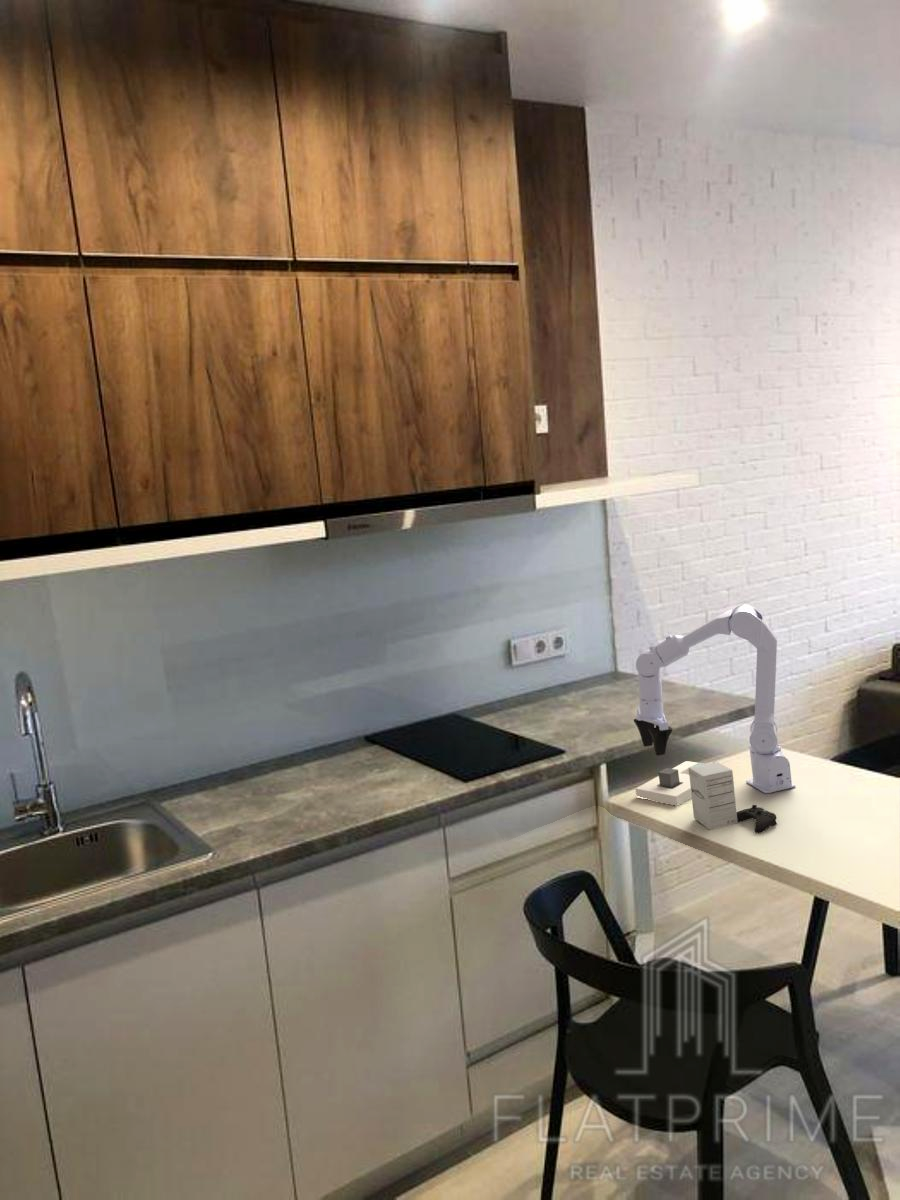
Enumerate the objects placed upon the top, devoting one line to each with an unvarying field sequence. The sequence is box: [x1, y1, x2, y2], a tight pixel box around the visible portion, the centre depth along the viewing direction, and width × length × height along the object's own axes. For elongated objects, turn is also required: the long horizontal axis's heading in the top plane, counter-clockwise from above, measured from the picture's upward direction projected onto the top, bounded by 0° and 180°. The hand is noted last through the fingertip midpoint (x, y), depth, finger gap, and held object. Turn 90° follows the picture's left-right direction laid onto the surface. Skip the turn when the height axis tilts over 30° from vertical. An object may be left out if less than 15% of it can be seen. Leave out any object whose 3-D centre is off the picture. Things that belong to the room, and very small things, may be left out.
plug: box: [657, 767, 680, 789], centre depth 229 cm, size 4×3×6 cm
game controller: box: [737, 804, 778, 834], centre depth 205 cm, size 10×5×6 cm
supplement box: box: [689, 760, 739, 830], centre depth 208 cm, size 7×7×13 cm
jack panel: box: [635, 760, 704, 807], centre depth 233 cm, size 22×12×3 cm, turn 132°
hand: (654, 750), depth 234 cm, fingers open, 7 cm apart
